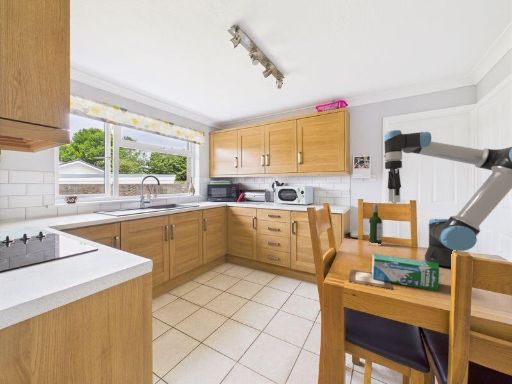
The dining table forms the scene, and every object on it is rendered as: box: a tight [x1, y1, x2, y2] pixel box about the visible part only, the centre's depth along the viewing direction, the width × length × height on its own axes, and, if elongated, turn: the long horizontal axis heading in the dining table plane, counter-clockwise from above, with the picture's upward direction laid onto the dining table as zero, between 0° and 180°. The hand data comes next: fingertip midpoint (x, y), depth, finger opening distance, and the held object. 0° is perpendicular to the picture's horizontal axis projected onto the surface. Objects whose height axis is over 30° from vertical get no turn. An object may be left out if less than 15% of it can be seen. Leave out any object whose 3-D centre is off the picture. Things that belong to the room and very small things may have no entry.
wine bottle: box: [368, 204, 383, 244], centre depth 156 cm, size 8×8×30 cm
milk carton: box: [371, 253, 444, 292], centre depth 94 cm, size 9×9×25 cm
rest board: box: [348, 268, 393, 290], centre depth 98 cm, size 16×16×1 cm
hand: (394, 201), depth 114 cm, fingers open, 13 cm apart
